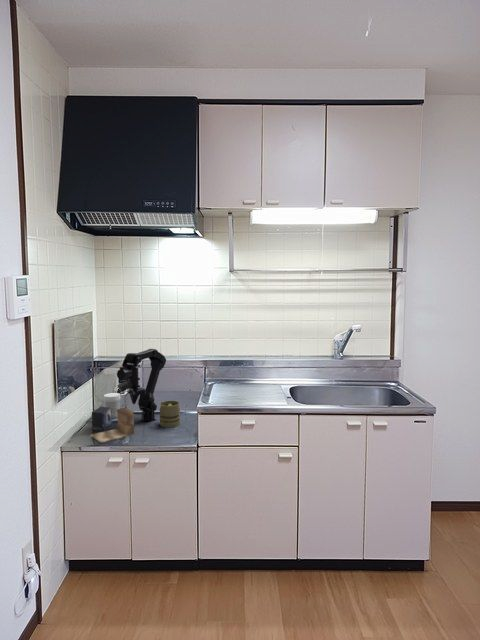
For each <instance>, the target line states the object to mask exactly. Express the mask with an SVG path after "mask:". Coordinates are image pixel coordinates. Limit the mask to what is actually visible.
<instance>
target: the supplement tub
mask: <svg viewBox="0 0 480 640" xmlns="http://www.w3.org/2000/svg"><path fill="white" fill-rule="evenodd" d="M121 401H122V400H121V393H119V392H110V393H106V394H104V395H103V407H110V408H111V422H118V417H117V409H121V408H122V402H121Z"/></svg>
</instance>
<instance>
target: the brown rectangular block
mask: <svg viewBox="0 0 480 640" xmlns="http://www.w3.org/2000/svg"><path fill="white" fill-rule="evenodd" d="M117 417H118V421H117V430H118V431H120V432H121V433H123V434H125V435H126V436H128V435H133V434H135V418H134V417H135V416H134V410H131V409H130V408H127V407H123V408H122V407H121V409H117Z"/></svg>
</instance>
